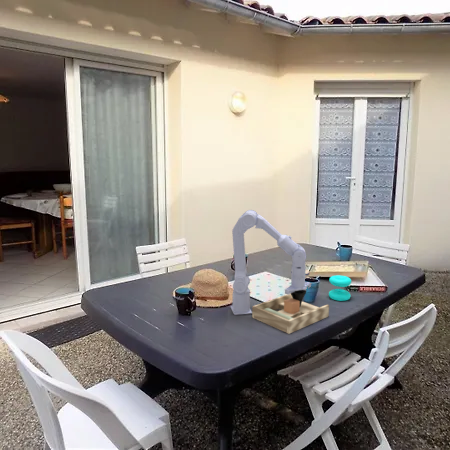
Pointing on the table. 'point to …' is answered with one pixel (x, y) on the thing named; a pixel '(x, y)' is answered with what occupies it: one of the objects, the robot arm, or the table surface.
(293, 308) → the block
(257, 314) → the trap box
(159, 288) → the table surface
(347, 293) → the cyan spool
